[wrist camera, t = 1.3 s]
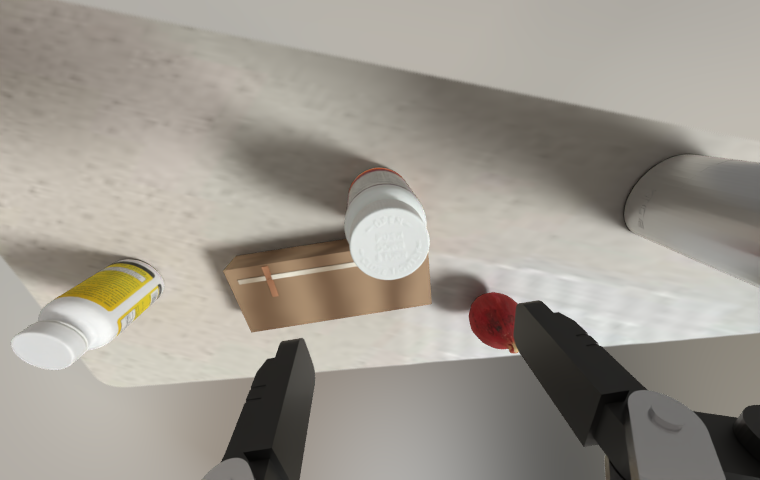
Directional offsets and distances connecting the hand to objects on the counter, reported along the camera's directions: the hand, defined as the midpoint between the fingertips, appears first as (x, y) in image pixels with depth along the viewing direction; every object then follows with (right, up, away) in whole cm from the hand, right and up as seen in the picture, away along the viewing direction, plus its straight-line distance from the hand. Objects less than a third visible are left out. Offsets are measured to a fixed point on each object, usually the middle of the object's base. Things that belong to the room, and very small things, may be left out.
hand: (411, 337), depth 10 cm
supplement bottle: (-27, -1, +19) cm, 33 cm away
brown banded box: (-6, 0, +20) cm, 21 cm away
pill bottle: (-1, +8, +17) cm, 19 cm away
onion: (+12, -4, +24) cm, 27 cm away
